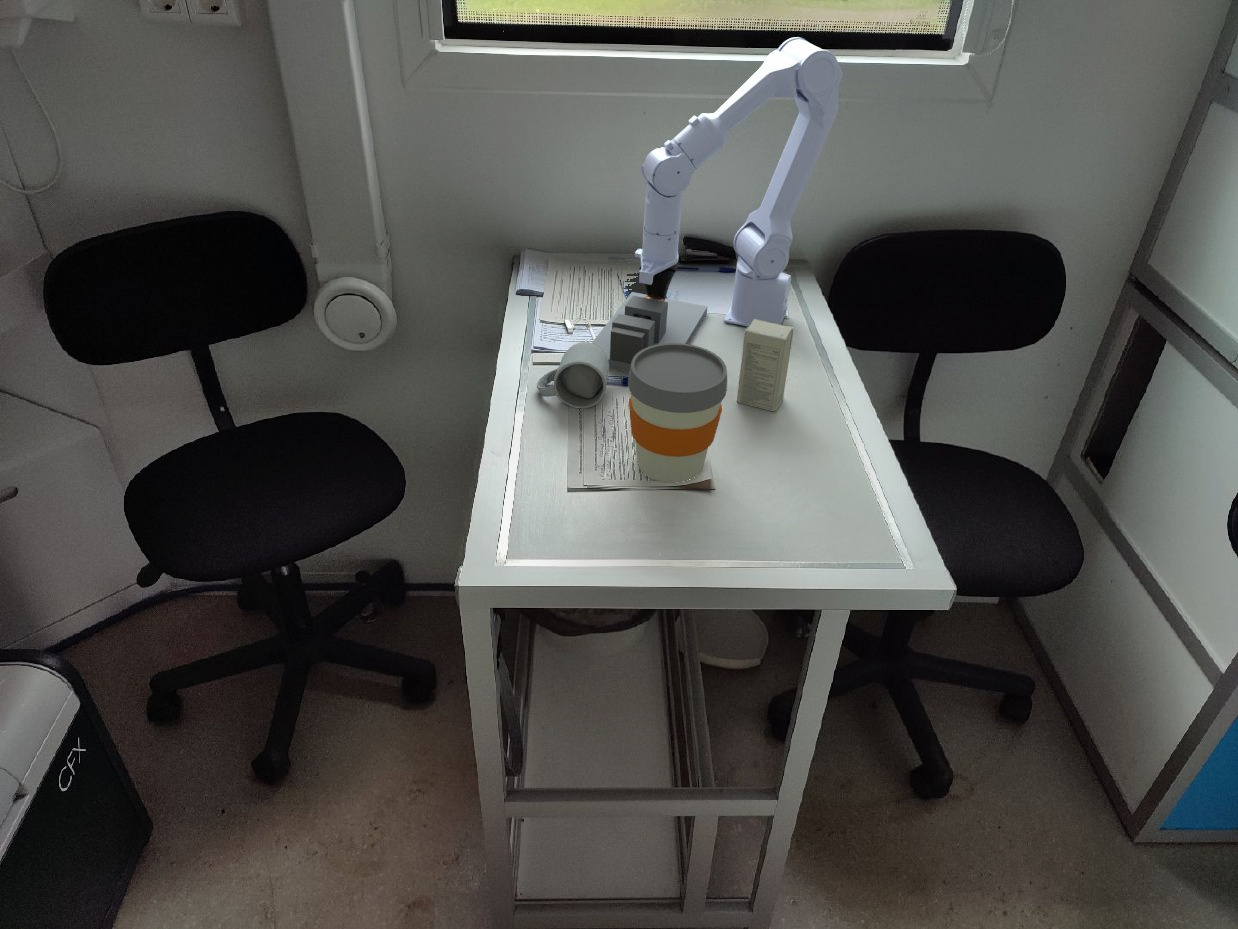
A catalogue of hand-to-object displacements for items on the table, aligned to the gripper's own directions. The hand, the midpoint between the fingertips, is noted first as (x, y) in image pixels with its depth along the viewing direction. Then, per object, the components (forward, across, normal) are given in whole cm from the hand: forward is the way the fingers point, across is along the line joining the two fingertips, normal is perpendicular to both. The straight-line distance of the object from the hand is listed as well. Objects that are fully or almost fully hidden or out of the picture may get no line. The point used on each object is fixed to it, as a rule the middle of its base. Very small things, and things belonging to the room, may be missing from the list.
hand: (655, 306), depth 144 cm
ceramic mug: (+4, +25, -5) cm, 26 cm away
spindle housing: (+4, +4, 0) cm, 5 cm away
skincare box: (+4, +16, +22) cm, 27 cm away
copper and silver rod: (+2, +7, 0) cm, 8 cm away
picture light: (+5, +5, -12) cm, 14 cm away
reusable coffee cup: (+4, +36, +14) cm, 38 cm away
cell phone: (+4, -14, -7) cm, 16 cm away
